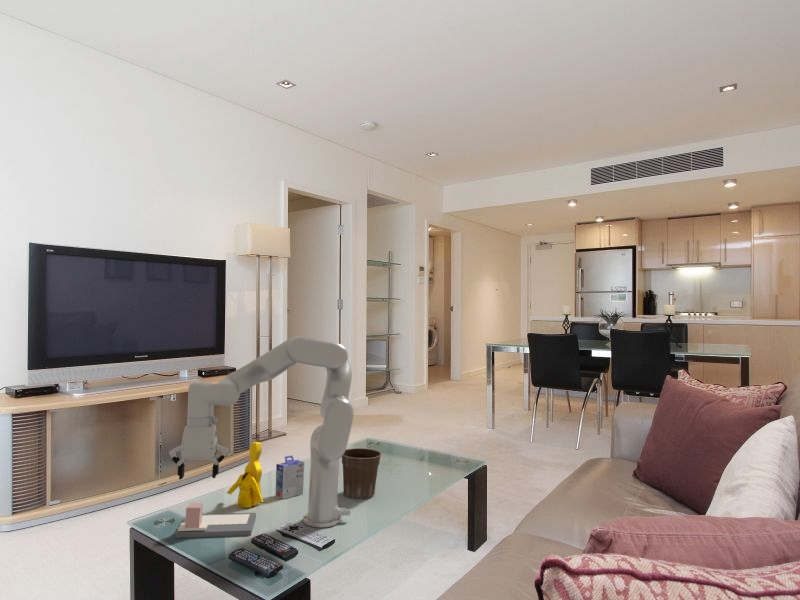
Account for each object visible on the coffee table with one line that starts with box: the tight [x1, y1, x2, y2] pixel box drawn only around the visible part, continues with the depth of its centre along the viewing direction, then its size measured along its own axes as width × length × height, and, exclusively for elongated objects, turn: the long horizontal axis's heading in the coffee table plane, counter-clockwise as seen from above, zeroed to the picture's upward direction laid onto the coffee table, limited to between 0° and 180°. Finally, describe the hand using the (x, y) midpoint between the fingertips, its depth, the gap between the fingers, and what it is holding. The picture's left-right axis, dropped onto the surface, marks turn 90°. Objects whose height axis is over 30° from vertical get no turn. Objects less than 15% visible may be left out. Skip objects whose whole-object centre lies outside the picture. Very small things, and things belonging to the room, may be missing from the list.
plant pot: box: [341, 447, 382, 500], centre depth 192 cm, size 16×16×16 cm
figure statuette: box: [226, 441, 264, 509], centre depth 177 cm, size 18×8×22 cm, turn 60°
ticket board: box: [174, 512, 257, 539], centre depth 156 cm, size 22×14×2 cm, turn 100°
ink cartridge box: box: [275, 455, 305, 500], centre depth 189 cm, size 10×6×14 cm, turn 137°
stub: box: [177, 502, 209, 531], centre depth 151 cm, size 8×4×7 cm, turn 100°
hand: (198, 477), depth 152 cm, fingers open, 9 cm apart
